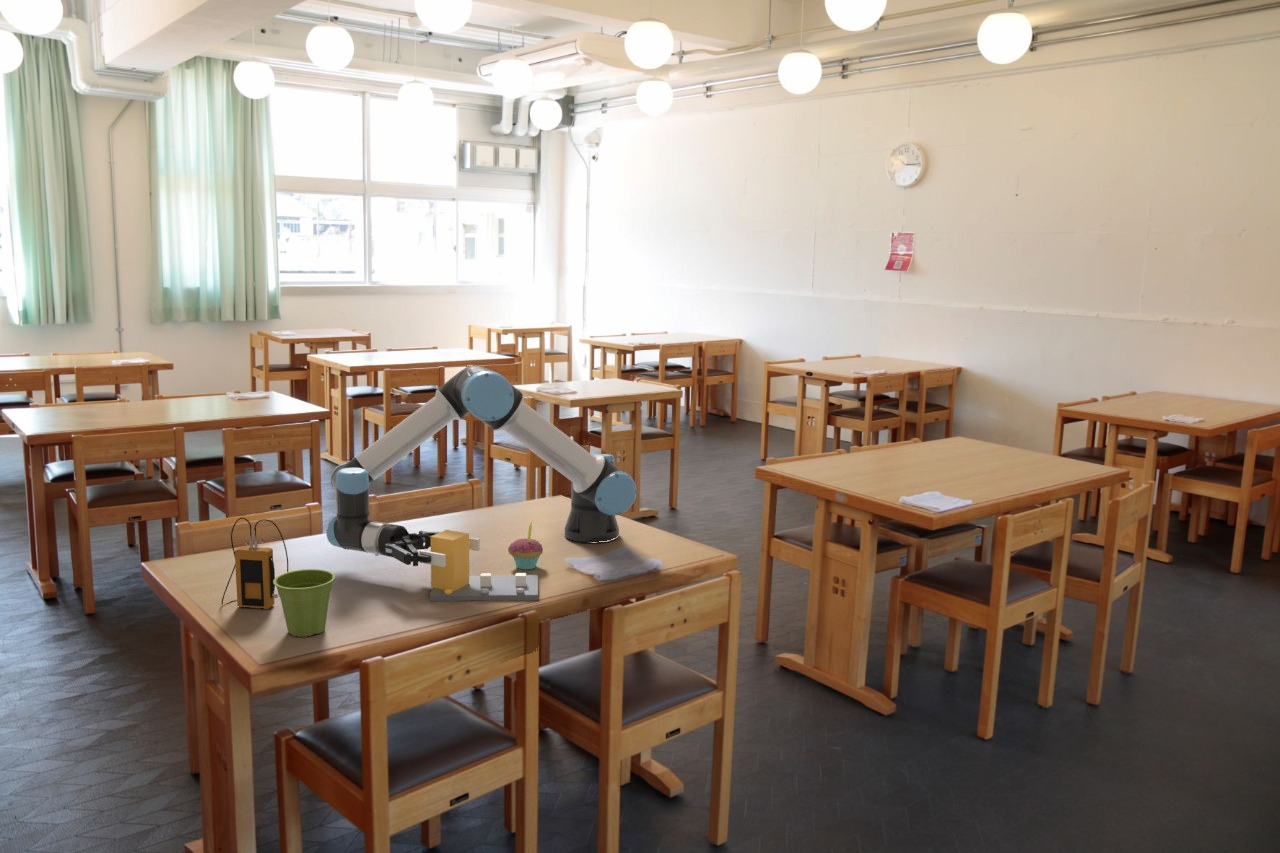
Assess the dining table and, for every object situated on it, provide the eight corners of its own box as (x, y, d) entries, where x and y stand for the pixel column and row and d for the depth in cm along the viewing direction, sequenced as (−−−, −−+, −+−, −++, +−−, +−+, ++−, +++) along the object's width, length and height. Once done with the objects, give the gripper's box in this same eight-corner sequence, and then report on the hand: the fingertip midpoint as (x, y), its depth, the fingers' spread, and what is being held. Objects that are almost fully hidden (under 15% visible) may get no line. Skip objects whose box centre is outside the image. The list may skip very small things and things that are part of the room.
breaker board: (537, 579, 237) (537, 564, 236) (538, 599, 223) (538, 584, 223) (435, 580, 234) (435, 565, 234) (429, 601, 221) (429, 585, 220)
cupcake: (549, 567, 247) (550, 520, 245) (523, 574, 241) (524, 526, 238) (527, 559, 252) (527, 513, 250) (501, 566, 246) (501, 519, 244)
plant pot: (273, 624, 205) (271, 572, 203) (333, 617, 209) (331, 566, 207) (277, 645, 194) (275, 590, 192) (339, 638, 199) (338, 584, 197)
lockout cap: (446, 579, 232) (446, 529, 230) (469, 583, 229) (469, 533, 227) (431, 587, 226) (430, 536, 224) (453, 591, 224) (453, 540, 222)
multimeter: (305, 595, 222) (302, 509, 219) (285, 611, 212) (282, 521, 209) (242, 591, 223) (239, 505, 220) (220, 607, 214) (215, 517, 210)
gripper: (418, 541, 245) (492, 554, 237) (351, 569, 223) (429, 584, 214) (418, 512, 244) (492, 523, 236) (350, 537, 222) (429, 550, 213)
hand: (462, 552), depth 225 cm, fingers open, 13 cm apart
